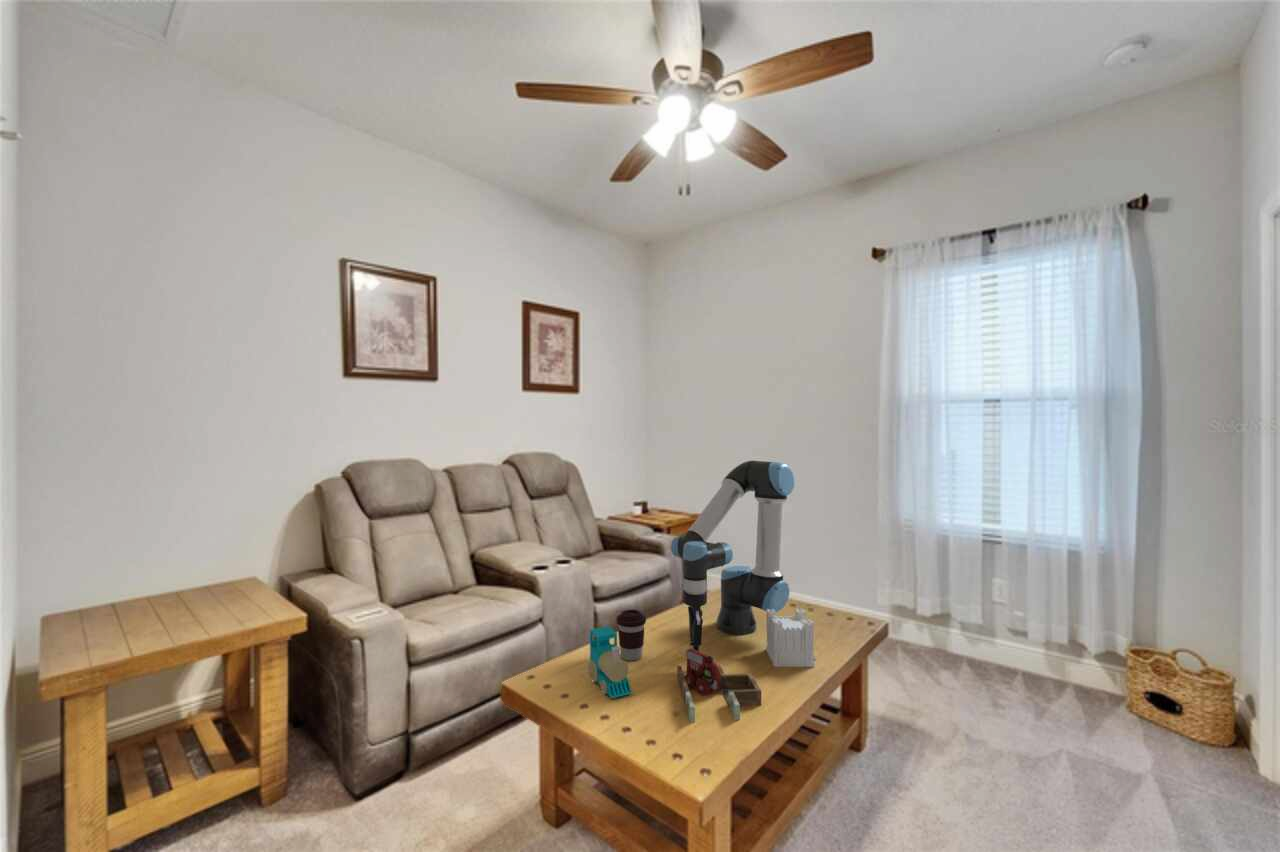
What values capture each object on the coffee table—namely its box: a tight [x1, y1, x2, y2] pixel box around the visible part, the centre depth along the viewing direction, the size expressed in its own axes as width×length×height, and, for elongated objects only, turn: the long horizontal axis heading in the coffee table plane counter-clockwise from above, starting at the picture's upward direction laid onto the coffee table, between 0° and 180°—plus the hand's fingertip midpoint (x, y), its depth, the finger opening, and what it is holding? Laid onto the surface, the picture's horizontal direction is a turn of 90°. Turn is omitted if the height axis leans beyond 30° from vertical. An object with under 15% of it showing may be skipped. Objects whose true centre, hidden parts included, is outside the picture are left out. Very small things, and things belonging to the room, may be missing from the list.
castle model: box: [765, 608, 817, 668], centre depth 182 cm, size 13×15×14 cm
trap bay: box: [721, 673, 762, 707], centre depth 158 cm, size 10×9×4 cm
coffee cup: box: [616, 609, 647, 662], centre depth 184 cm, size 10×10×15 cm
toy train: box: [588, 625, 633, 699], centre depth 164 cm, size 8×17×15 cm, turn 27°
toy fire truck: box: [684, 647, 721, 696], centre depth 163 cm, size 7×12×10 cm, turn 44°
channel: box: [676, 663, 741, 723], centre depth 157 cm, size 24×13×4 cm, turn 4°
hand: (695, 663), depth 174 cm, fingers closed
